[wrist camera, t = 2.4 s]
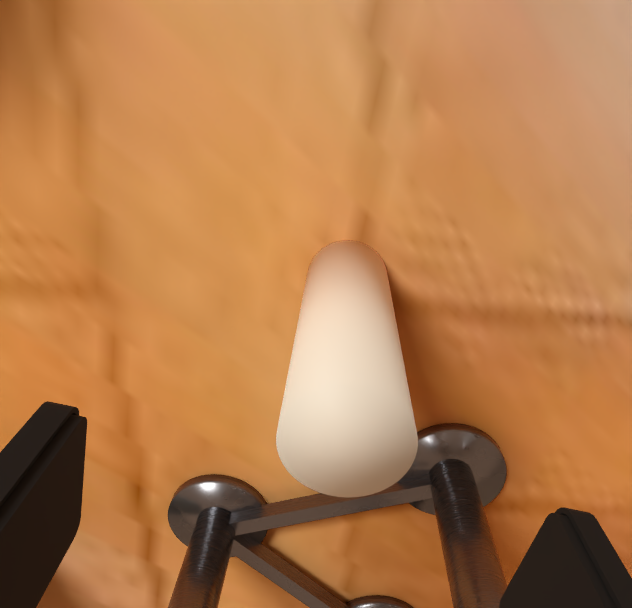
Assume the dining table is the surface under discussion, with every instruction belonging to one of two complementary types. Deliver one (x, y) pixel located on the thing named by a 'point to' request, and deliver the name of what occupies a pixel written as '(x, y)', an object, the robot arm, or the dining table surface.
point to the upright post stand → (414, 487)
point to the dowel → (347, 380)
